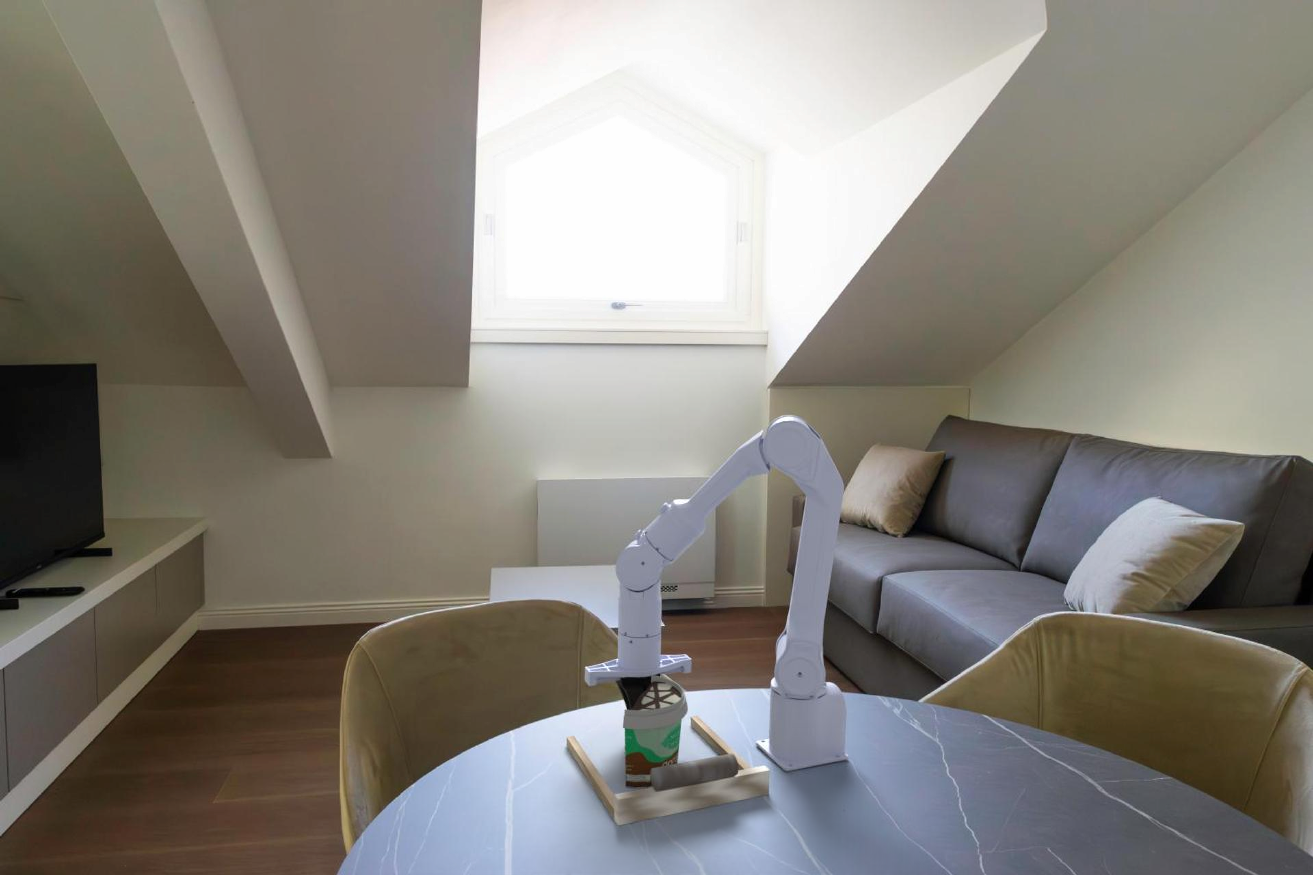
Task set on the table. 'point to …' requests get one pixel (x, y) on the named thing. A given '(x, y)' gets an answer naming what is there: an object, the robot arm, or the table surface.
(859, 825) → the table surface
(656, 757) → the food container
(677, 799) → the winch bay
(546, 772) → the table surface
